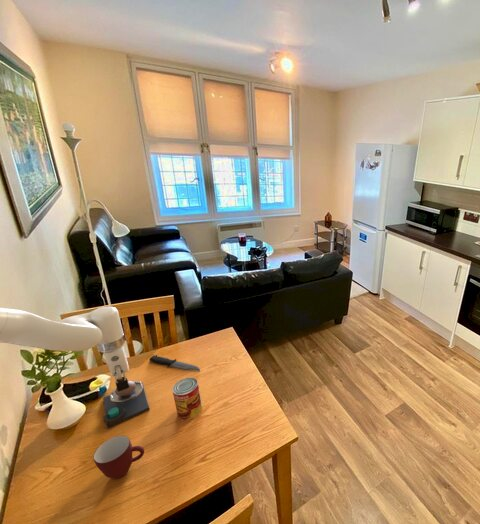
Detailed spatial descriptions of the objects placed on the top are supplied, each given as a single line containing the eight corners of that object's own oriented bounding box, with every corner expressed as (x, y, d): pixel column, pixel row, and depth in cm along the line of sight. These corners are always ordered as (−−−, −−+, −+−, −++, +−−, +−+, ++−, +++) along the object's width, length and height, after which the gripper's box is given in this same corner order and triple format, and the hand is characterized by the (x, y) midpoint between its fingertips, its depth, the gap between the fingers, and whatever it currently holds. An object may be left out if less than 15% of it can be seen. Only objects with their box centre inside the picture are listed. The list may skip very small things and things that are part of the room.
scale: (106, 430, 96) (104, 424, 94) (102, 400, 106) (100, 394, 105) (150, 410, 103) (148, 404, 102) (143, 384, 114) (141, 379, 113)
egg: (114, 401, 102) (111, 392, 101) (119, 388, 107) (116, 380, 106) (134, 396, 105) (132, 388, 103) (138, 384, 110) (136, 376, 108)
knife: (205, 364, 124) (197, 373, 119) (205, 367, 124) (197, 375, 120) (155, 353, 128) (146, 360, 124) (156, 356, 129) (147, 363, 124)
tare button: (109, 419, 97) (108, 415, 96) (108, 413, 98) (107, 410, 98) (119, 415, 98) (118, 411, 98) (119, 409, 100) (117, 405, 100)
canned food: (172, 414, 103) (166, 389, 98) (192, 398, 109) (187, 374, 105) (188, 423, 100) (182, 398, 95) (207, 406, 106) (202, 382, 102)
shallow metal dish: (112, 408, 100) (111, 406, 99) (109, 391, 106) (109, 389, 106) (144, 395, 106) (144, 392, 105) (140, 379, 112) (140, 377, 112)
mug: (146, 448, 91) (139, 426, 87) (148, 470, 85) (141, 447, 81) (103, 467, 85) (94, 444, 81) (102, 492, 79) (92, 469, 75)
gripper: (128, 350, 94) (138, 390, 100) (121, 326, 105) (131, 363, 112) (98, 360, 89) (111, 401, 95) (95, 333, 101) (106, 371, 107)
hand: (122, 380), depth 103 cm, fingers open, 9 cm apart
